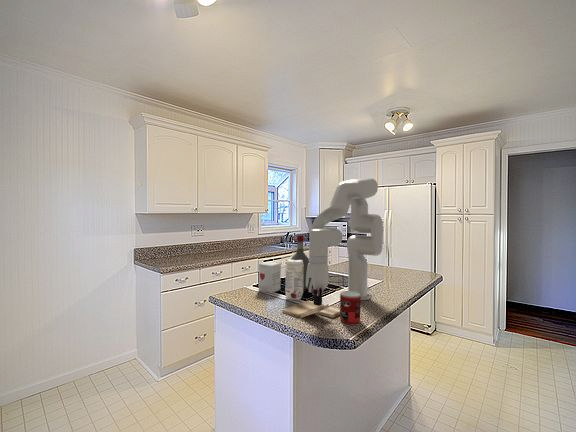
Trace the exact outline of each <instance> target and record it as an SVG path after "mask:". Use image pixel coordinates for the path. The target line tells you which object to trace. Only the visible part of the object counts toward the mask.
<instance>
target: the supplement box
mask: <svg viewBox="0 0 576 432" xmlns="http://www.w3.org/2000/svg"><path fill="white" fill-rule="evenodd" d="M281 267H282V263H281V262H275V261H273V262H272V261H266V262H261V263H259V264H258V291H259V292H263V293H267V294H274V293H276V292H278V291H280V290H281V282H282V281H281V278H282V277H281V275H282V273H281V272H282V269H281Z"/></svg>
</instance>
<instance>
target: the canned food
mask: <svg viewBox="0 0 576 432" xmlns="http://www.w3.org/2000/svg"><path fill="white" fill-rule="evenodd" d="M361 301H362V300H361V294H360V293H358V292H353V291H348V290H346V291H345V290H344V291H341V292H340V295H339V309H340V315H339V319H340V322H342V323H344V324H347V325H357V324H359V323H360V321H361V309H362V308H361V303H362V302H361Z"/></svg>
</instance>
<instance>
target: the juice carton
mask: <svg viewBox="0 0 576 432" xmlns="http://www.w3.org/2000/svg"><path fill="white" fill-rule="evenodd" d="M303 275H304V265H303V260H291V258H290V259H287V260H286V263H285V275H284V276H285V277H284V278H285V282H284V284H285V285H284V286H285V291H284V293H285V299H286V300H294V301H301V299H302V297H303V294H304V290H303Z"/></svg>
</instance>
